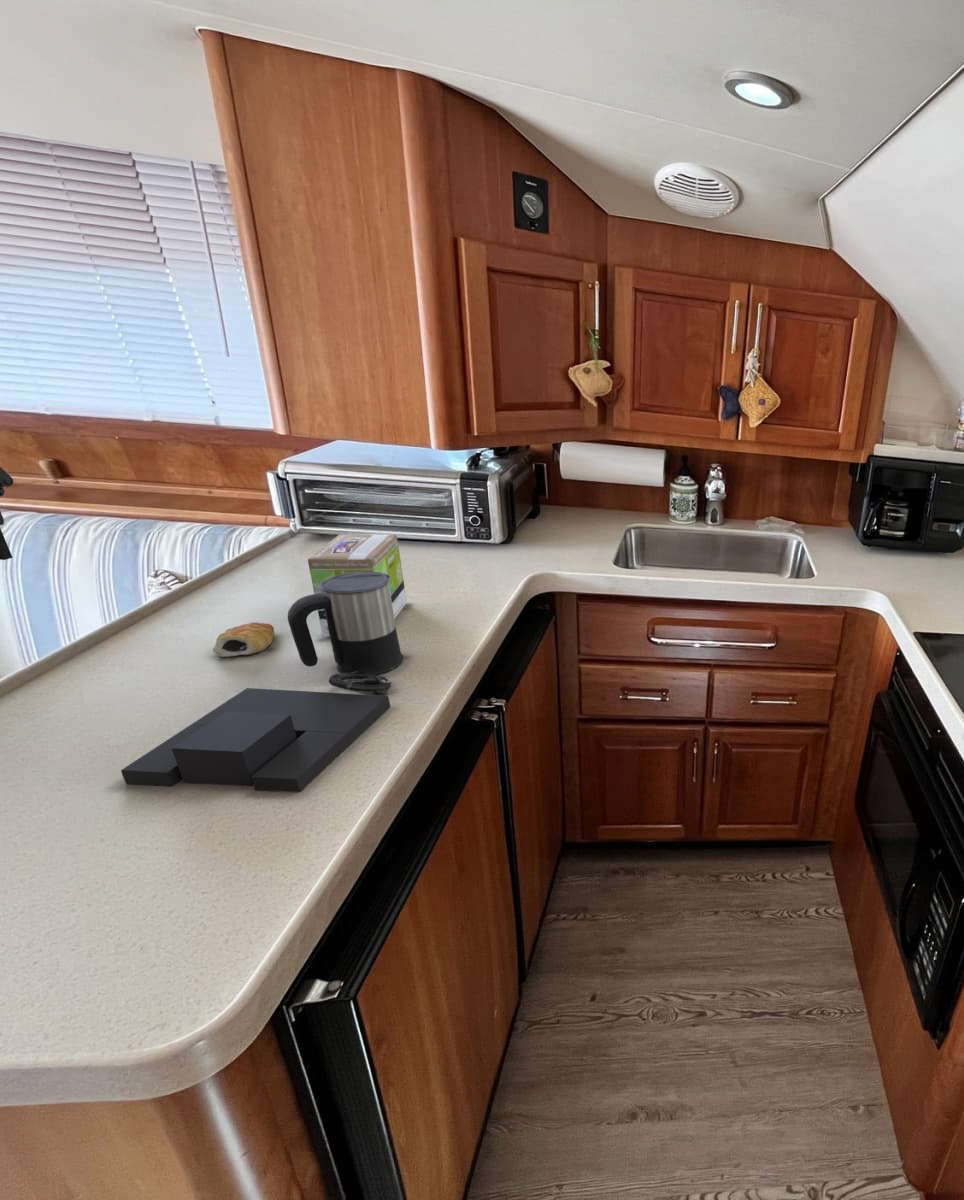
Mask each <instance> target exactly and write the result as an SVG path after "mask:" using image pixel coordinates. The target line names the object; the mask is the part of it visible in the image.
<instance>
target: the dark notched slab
mask: <svg viewBox="0 0 964 1200" xmlns="http://www.w3.org/2000/svg"><path fill="white" fill-rule="evenodd" d="M390 708H391V701H390V697H389V695H381V694H380V695H379V694H361V693H344V692H343V693H342V692H325V691H308V690H307V691H306V690H291V689H289V690H286V689H273V688H253V687H252V688H251V687H245V689H243V690H242V691H240V692H238V693H237V694H236V695H234V696H233V697H231V698H229V699H228V700H226V701H225V702H223V703H222V704H220V705H219V706H217V707H215V708H214V709H213V710H211V711H209V712H208V713H206V714H205V715H204V716H203V715H202V716H201V717H200V718H199V719H197V720H196V721H194V722H193V723H190V724H189V725H188V726H187V727H185V728H184V729H182V730H181V731H179V732H177V733H176V734H174V735H173V736H171V737H170V738H168V739H166V740H165V741H163V742H162V743H160V744H159V745H157V746H156V747H154V748H153V749H151V750H150V751H148V752H147V753H145V754H143V755H142V756H140V757H138V758H137V759H136V760H134V761H133V762H131V763H129V764H128V765H127V766H125V767H124V768H122V769H120V772H121V775H122V778H123V780H124V783H125V784H126V785H139V786H140V785H141V786H161V787H173V786H174V785H176V784H177V783H178V782H180V781H181V780H183V779H182V776H181V773H180V771H179V768H178V765H177V762H176V759H175V757H174V754H173V751H172V748H173V747H175V746H176V745H177V744H179V743H180V742H182V741H183V740H185V739H186V738H188V737H189V736H191V735H192V734H194V733H195V732H197V731H198V730H200V729H201V728H203V727H204V726H206V725H207V724H209V723H210V722H212V721H213V720H215V719H216V718H218V717H219V716H221V715H222V714H224V713H225V712H227V711H228V712H246V713H265V714H283V715H291V718H292V722H293V725H294V729H295V733H296V737H297V739H296V740H295V741H294V742H293V743H291V744H290V745H289V746H288V747H287V748H285V749H284V750H283V751H282V752H281V753H279V754H278V755H277V756H276V757H275V758H273V759H272V760H271V761H270V762H268V763H267V764H266V765H265V766H264V767H262V768H261V769H260V770H259V771H258V772H256V773H255V774H254V775H253V776H251V778H252V781H253V788H254V790H255V791H263V792H266V791H267V792H284V793H285V792H287V793H288V792H289V793H301V792H303V790H305V789H306V788H307V787H308V786H309V785H310V784H311V783H312V782H313V781H314V780H315V779H316V778H318V776H319V775H320V774H321V773H322V772H323V771H325V769H327V768H328V767H329V766H330V765H331V764H332V763H333V762H334V761H335V760H336V759H337V758H338V757H339V756H340V755H342V754H343V753H344V752H345V751H346V750H347V749H348V748H349V747H350V746H351V745H352V744H353V743H354V742H355V741H356V740H357V739H359V738H360V736H362V735H363V734H364V733H365V732H366V731H367V730H368V729H369V728H370V727H371V726H372V725H373V724H375V722H376V721H378V720H379V719H380V718H381V717H382V716H383V715H384V714H385V713H386V712H387V711H388V710H389V709H390Z"/></svg>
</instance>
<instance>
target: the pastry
mask: <svg viewBox="0 0 964 1200" xmlns="http://www.w3.org/2000/svg"><path fill="white" fill-rule="evenodd" d="M274 638H275V627H274V626H273V625H272V624H271V623H265V622H257V621H255V622H249V623H244V624H240V625H238V626H234V627H231V628H227V629H226V630H225V631H224V632H221V633H220V634H219V635H218V636H217V638H216V642H215V645H214V647H213V648H212V651H213V653H215V654H216V655H218V656H219V657H220V658H228V657H230V658H232V657H237V656H248V655H253V654H258V653H260V652H263V651H264V650H266V649H267V647H269V646H270V645H272V642H273V641H274Z"/></svg>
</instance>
